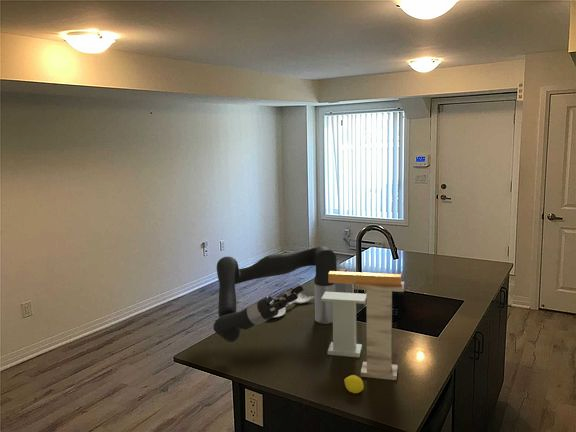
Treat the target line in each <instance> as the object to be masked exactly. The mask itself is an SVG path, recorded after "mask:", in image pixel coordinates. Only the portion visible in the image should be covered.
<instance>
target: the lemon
mask: <svg viewBox="0 0 576 432" xmlns="http://www.w3.org/2000/svg"><path fill="white" fill-rule="evenodd" d="M343 381H344V385H345V388H346V390H347V392H348V391H349V392H350V393H352V394H359V393H360V392H362V391H363V390H364V381H363V380H362V377H360V376H357V375H356V374H352V375H349V376H347V377H345V378H344V380H343Z"/></svg>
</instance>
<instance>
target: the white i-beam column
mask: <svg viewBox="0 0 576 432" xmlns="http://www.w3.org/2000/svg"><path fill="white" fill-rule="evenodd" d="M321 301H328V302H332V305H333V323H332V340H333V341H330V344H329V345H328V349H327V355H329V356H330V355H331V356H339V357H352V358H360V357H361V353H362V349H363V344H361V343H357V304H361V305H362V304H363V305H365V304H366V302H367V294H364V293H359V292H358V293H355V292H352V293H342V292H325V293H324V295H323V296H322V298H321Z"/></svg>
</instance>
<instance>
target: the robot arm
mask: <svg viewBox="0 0 576 432" xmlns="http://www.w3.org/2000/svg"><path fill="white" fill-rule="evenodd" d="M337 261H338V260H337V256H336V253H335V252H334V251H333V250H332V249H331V248H329V246H325V245H320V246H316V247H312V248H307V249H304V250H303V249H302V250H299V251H290V252H288V251H287V252H282V253H274V254H269V255H266V256H264V257H262V258H261V259H259V260H258V261H257V262H255V263H254V264H252V265H250V266H247V267H246V266H245V267H242V268H239V264H238V261H237V260H236V259H235V258H234V257H232V256H224V257H221V258H220V259H218V261H217V263H216V273H217V274H216V275H217V279H218V282H219V283H218V284H219V286H218V291H219V292H218V303H217V304H218V309H217V313H218V318H217V319H216V320H215V322H213V331H214V332H215V333H216V334H217V335H218V336H219V337H221V338H222V339H224V340H225V341H227V342H229V343H232V342H235V341H236V340H238V338H239V337H240V335H241V330H244V331H245V330H249V329H250V328H253V327H254V326H257V325H259V324H262V323H264V322H266V321H268V320H270V319H273V318H272V317H274V316H276V315H277V314H278V310H280V309H282V308H285V307H287V306H286V305H288V304H289V303H290V302H292V301H295V300H296V299H297V298H298V295H299V294H300V293H302V292H303V291H304V288H303V286H302V284H300V285H297V286H295V287H294V288H292V287H290V288H289V289H287V290H286V291H283V292H281V293H279V294H278V295H276V296H275V298H273V297H272V296H270V295H267V296H265V297H263V298H262V299H259V300H258V301H255V302H253V303H252V304H251V305H249V306H248V307H245V308H243V309H242V310H240V311H237V295H236V285H238V284H241V283H245V282H249V281H252V280H257V279H262V278H263V279H264V278H269V277H275V276H277V277H278V276H282V275H283V276H284V275H287V274H290V273H292V272H294V271H296V270H299V269H301V268H305V267H313V266H315V276H314V280H313V281H314V286H313V288H314V320H315V322H316V323H319V324H325V325H327V324H333V305H332V302H328V301H321V298H322V296H323V295H324V293H325V292H335V283H329V281H328V274H329V272H330V271H338V270H337ZM289 293H291V294H289ZM288 302H289V303H288ZM288 306H289V305H288Z"/></svg>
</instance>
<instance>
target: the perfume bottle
mask: <svg viewBox="0 0 576 432" xmlns="http://www.w3.org/2000/svg"><path fill="white" fill-rule="evenodd" d="M337 271H339V272H348V269H346V268H339V269H338V270H337ZM335 292H342V293H353V284H343V283H335Z"/></svg>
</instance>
